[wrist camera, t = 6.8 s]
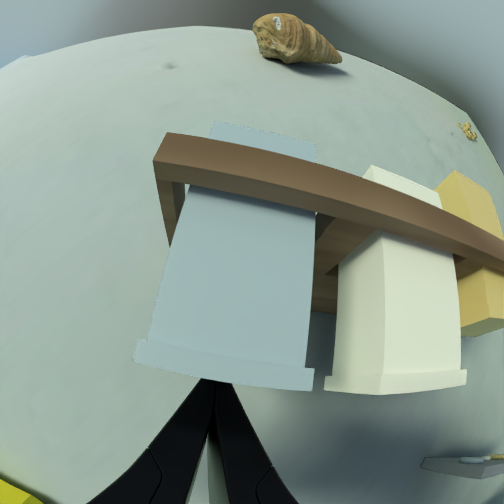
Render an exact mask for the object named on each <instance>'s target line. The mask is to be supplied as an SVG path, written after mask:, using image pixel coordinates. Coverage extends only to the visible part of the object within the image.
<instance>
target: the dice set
mask: <svg viewBox="0 0 504 504" xmlns="http://www.w3.org/2000/svg"><path fill="white" fill-rule="evenodd" d="M458 126H459V127H460V128H462V125H460V124H459V123H458ZM464 127H465V128H462V130H463V132H464V133H466V134H465V136H466V137H467V138H468V139H469V140H470V139H472V140H475V139H476V138H477V137H478V136H477V135H476V133H475V132H472V133H471V132H470V130H471V125H470V124H469V123H468V122H466V124H465V125H464Z"/></svg>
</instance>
